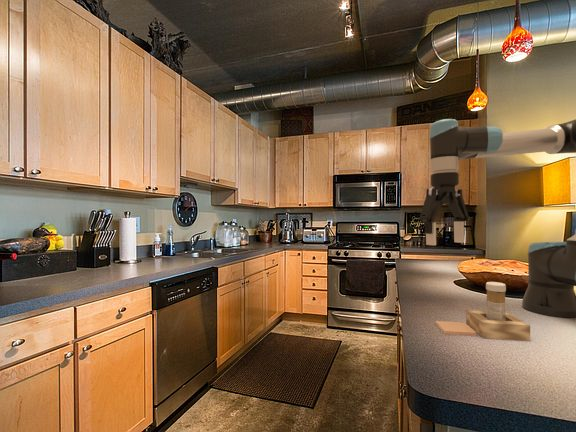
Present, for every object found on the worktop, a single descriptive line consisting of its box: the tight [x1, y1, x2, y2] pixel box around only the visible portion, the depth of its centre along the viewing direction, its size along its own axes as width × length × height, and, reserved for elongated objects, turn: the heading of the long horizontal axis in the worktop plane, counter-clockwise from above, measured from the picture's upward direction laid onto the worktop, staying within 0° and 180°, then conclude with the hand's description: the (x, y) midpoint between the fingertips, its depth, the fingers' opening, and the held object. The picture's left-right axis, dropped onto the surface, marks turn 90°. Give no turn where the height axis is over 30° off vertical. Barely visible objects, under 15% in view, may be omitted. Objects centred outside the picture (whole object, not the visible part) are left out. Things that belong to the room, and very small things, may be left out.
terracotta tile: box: [435, 320, 478, 337], centre depth 87 cm, size 8×8×1 cm
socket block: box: [465, 309, 531, 342], centre depth 85 cm, size 11×11×4 cm
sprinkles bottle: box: [485, 281, 507, 321], centre depth 85 cm, size 5×5×14 cm
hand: (445, 243), depth 92 cm, fingers open, 13 cm apart
